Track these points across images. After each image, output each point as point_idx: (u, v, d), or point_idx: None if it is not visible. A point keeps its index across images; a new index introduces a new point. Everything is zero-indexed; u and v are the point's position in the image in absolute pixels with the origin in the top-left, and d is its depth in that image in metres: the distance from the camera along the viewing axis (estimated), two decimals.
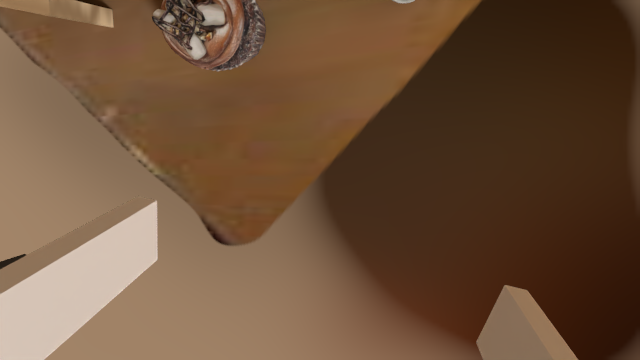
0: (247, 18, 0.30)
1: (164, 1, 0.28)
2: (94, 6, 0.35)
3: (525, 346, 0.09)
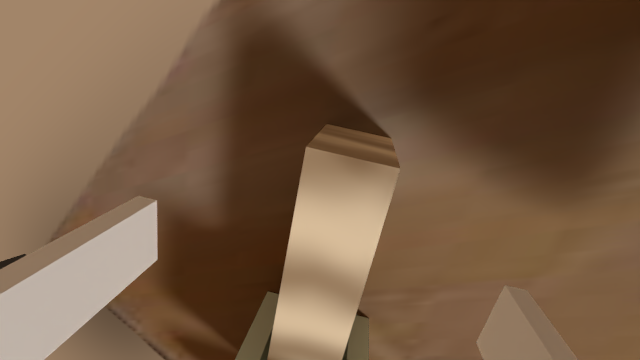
0: None
1: None
2: None
3: (525, 346, 0.09)
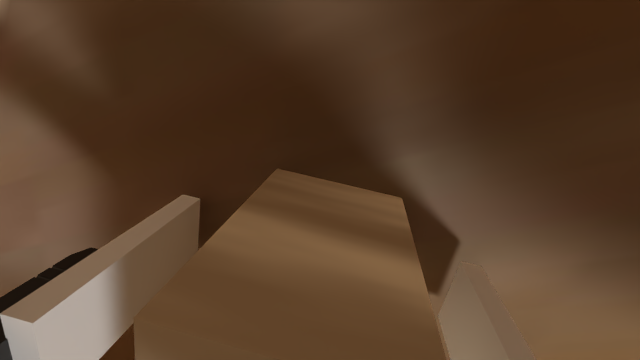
0: None
1: None
2: None
3: (472, 312, 0.10)
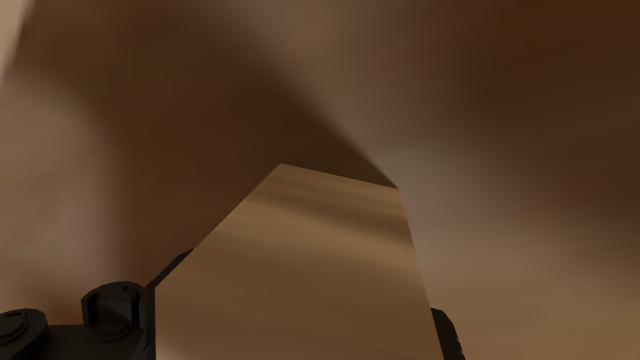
0: None
1: None
2: None
3: None
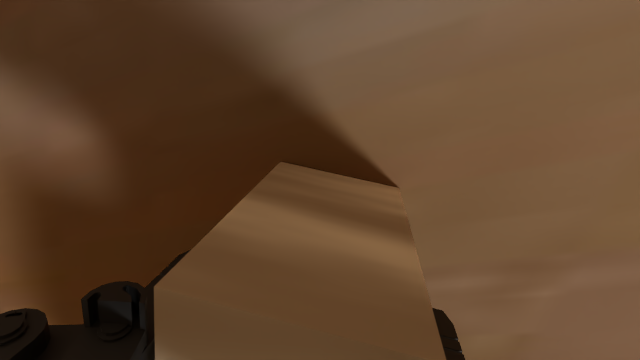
0: None
1: None
2: None
3: None
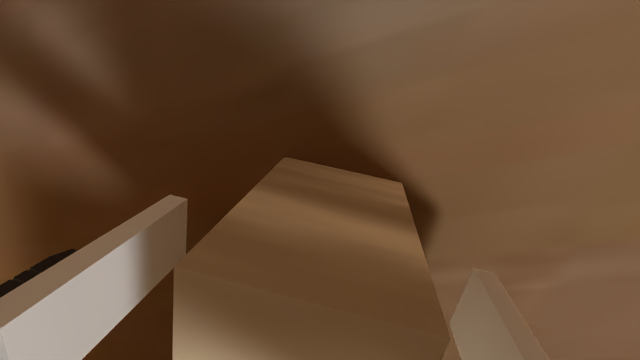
0: None
1: None
2: None
3: (487, 321, 0.09)
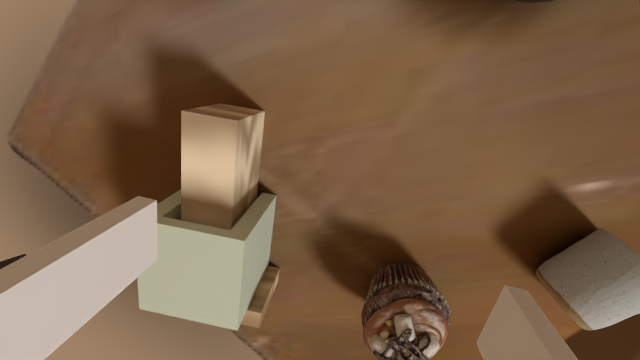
0: None
1: (377, 326, 0.31)
2: (274, 281, 0.37)
3: (525, 346, 0.09)
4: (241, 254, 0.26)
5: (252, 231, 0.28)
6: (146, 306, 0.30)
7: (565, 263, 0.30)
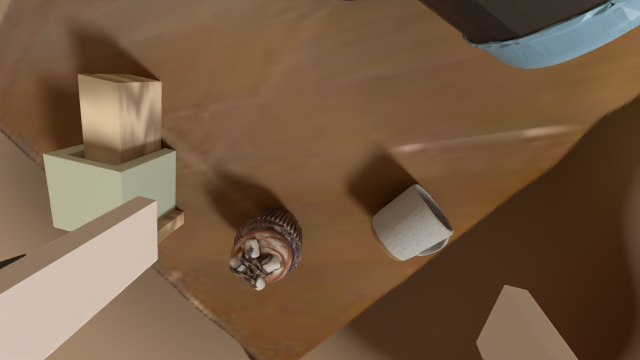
0: (294, 254, 0.41)
1: (236, 249, 0.40)
2: (174, 220, 0.46)
3: (525, 346, 0.09)
4: (120, 183, 0.35)
5: (134, 168, 0.37)
6: (58, 225, 0.39)
7: (384, 209, 0.39)
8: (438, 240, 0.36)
